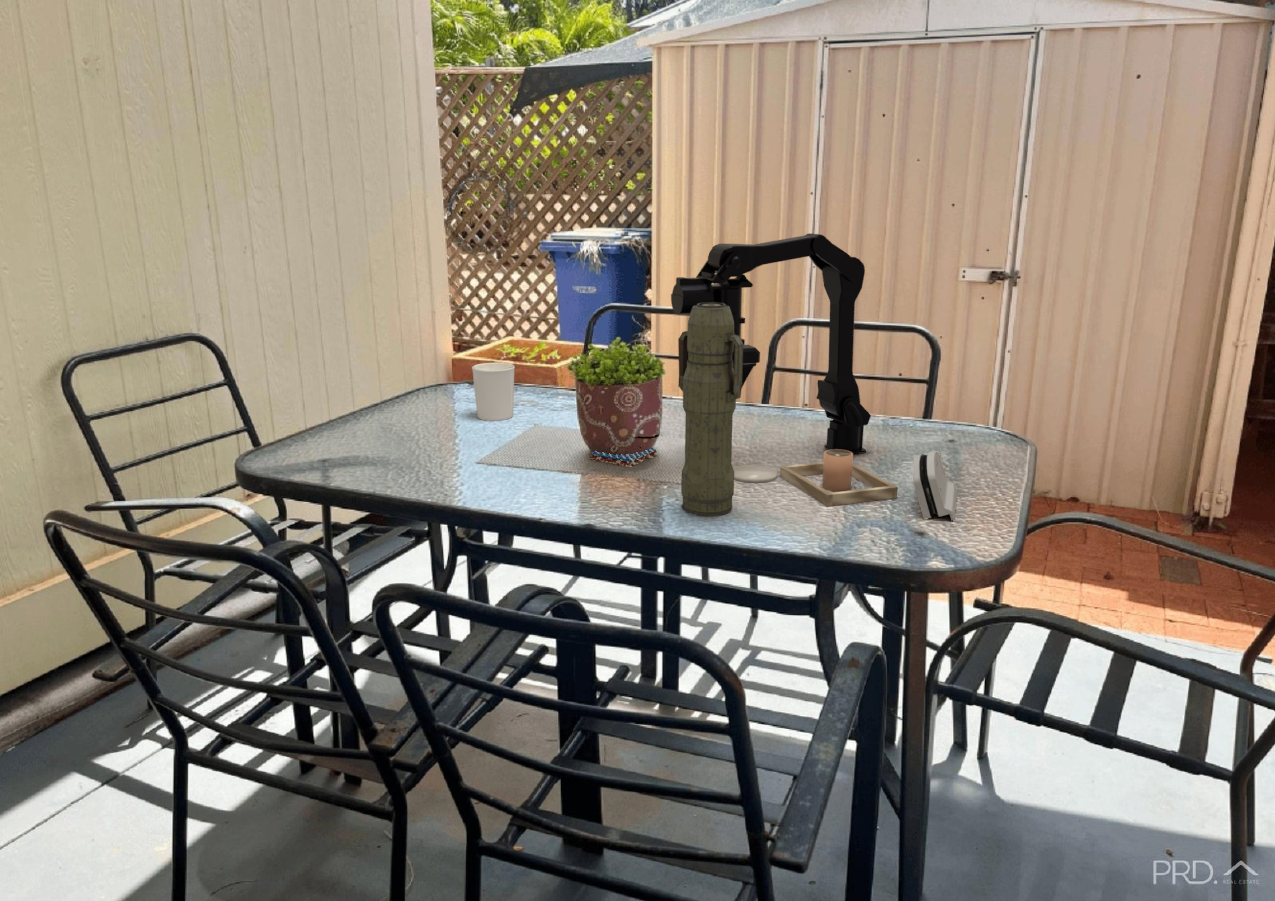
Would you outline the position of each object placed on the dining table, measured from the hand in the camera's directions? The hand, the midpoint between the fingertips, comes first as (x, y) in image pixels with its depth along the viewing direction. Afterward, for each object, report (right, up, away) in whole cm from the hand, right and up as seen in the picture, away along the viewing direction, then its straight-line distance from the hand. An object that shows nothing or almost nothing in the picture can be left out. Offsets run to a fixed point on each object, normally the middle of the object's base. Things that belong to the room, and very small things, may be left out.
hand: (724, 392), depth 193 cm
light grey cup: (-50, -4, +41) cm, 65 cm away
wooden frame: (+20, -18, -10) cm, 29 cm away
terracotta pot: (+20, -18, -10) cm, 29 cm away
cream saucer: (+5, -16, -4) cm, 17 cm away
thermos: (-5, -21, -21) cm, 31 cm away
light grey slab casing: (+35, -21, -20) cm, 45 cm away
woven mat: (-20, -13, +9) cm, 25 cm away
